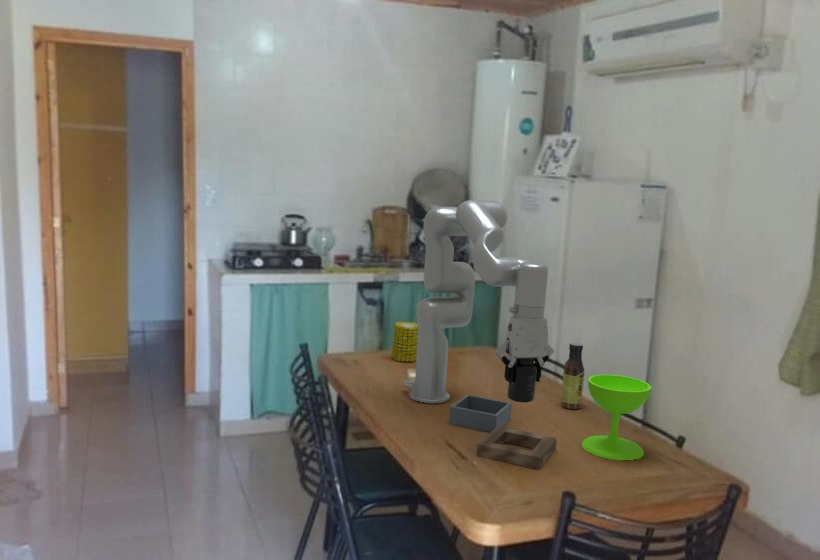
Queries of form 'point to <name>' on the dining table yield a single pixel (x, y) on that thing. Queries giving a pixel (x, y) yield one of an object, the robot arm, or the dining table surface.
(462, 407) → the bin
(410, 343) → the food
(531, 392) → the supplement bottle
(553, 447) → the socket block
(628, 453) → the wineglass
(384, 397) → the dining table surface
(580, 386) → the sauce bottle
